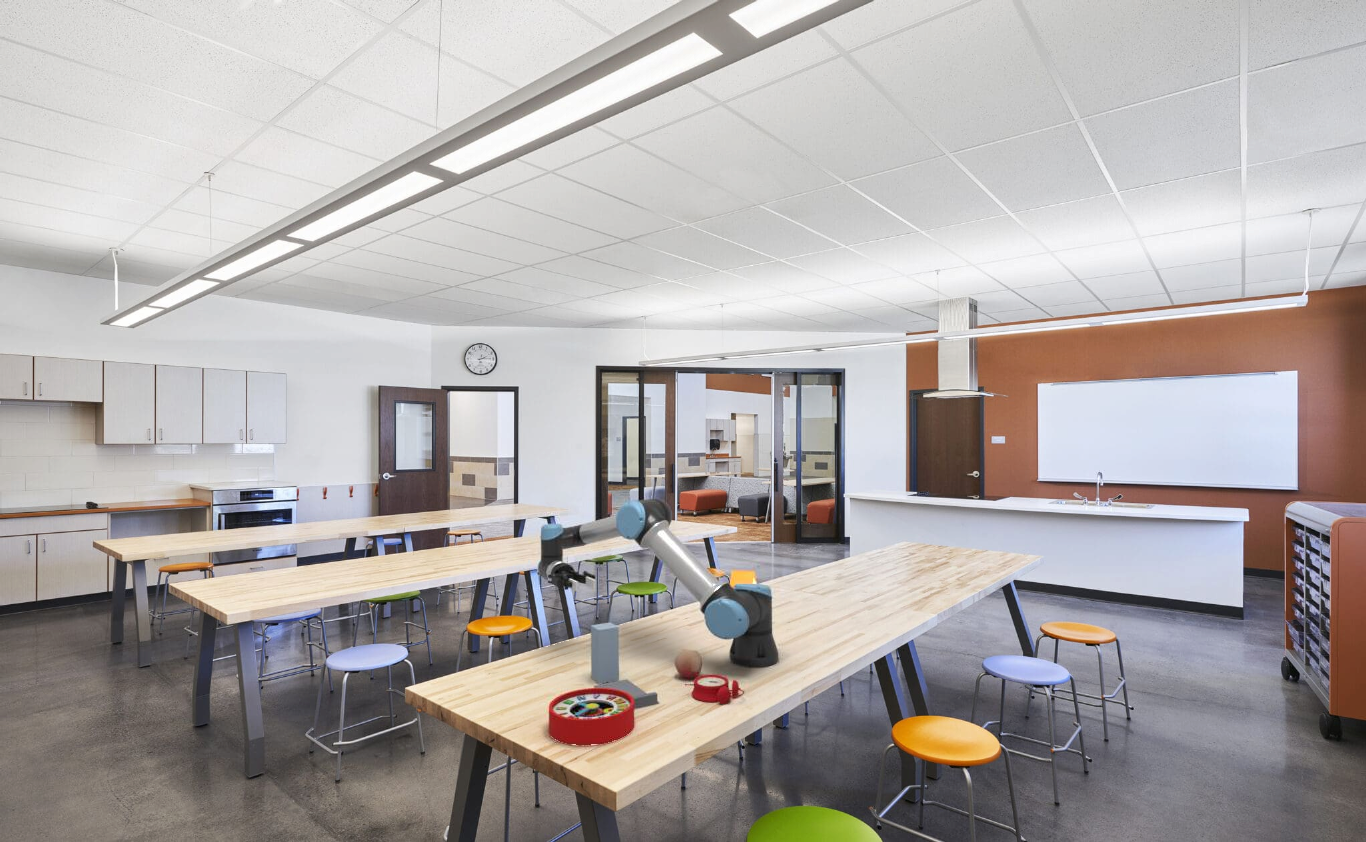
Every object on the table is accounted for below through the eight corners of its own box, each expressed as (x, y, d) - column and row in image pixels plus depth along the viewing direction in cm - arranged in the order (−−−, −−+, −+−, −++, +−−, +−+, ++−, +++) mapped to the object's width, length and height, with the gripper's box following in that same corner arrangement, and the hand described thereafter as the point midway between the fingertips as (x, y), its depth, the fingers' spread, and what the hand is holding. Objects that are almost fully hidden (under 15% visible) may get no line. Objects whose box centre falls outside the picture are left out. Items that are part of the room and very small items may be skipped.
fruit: (705, 673, 191) (705, 645, 192) (698, 682, 184) (698, 653, 184) (679, 671, 193) (678, 643, 194) (671, 680, 186) (670, 652, 186)
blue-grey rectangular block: (591, 678, 189) (590, 625, 189) (610, 674, 192) (610, 622, 192) (599, 684, 183) (598, 630, 184) (619, 680, 186) (618, 627, 187)
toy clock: (650, 696, 159) (598, 727, 142) (651, 721, 158) (598, 754, 141) (586, 682, 169) (530, 709, 152) (586, 706, 169) (530, 735, 152)
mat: (593, 686, 182) (593, 677, 182) (626, 680, 186) (626, 671, 187) (623, 711, 164) (623, 701, 164) (659, 703, 169) (659, 693, 169)
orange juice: (753, 628, 238) (751, 573, 239) (729, 627, 241) (728, 572, 242) (758, 623, 246) (757, 569, 246) (735, 621, 249) (734, 568, 250)
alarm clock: (700, 672, 182) (747, 668, 174) (705, 695, 181) (752, 693, 173) (680, 683, 173) (728, 680, 166) (685, 708, 172) (733, 706, 165)
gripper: (586, 582, 226) (613, 594, 206) (534, 588, 217) (557, 601, 197) (585, 560, 226) (612, 570, 206) (534, 565, 217) (557, 576, 197)
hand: (585, 585), depth 201 cm, fingers open, 5 cm apart
